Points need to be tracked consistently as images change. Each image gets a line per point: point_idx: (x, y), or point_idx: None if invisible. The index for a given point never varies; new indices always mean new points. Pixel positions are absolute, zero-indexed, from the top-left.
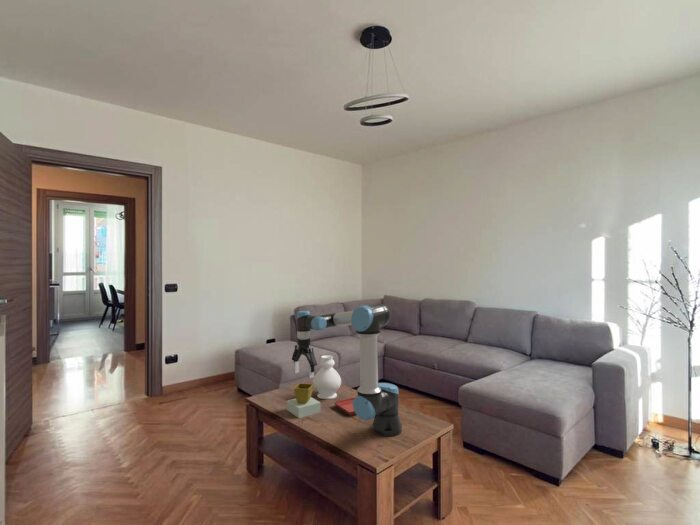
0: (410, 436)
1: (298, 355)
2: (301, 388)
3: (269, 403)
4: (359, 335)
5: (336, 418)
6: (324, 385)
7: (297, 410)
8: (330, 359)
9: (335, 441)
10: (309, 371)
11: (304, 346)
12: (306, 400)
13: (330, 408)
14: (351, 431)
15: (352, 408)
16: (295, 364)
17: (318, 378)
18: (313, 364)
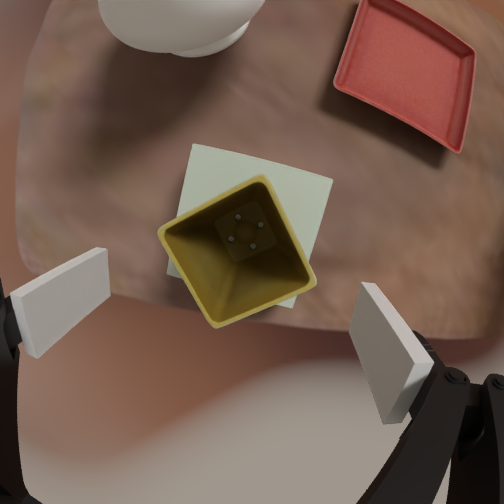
0: None
1: (17, 457)
2: (188, 219)
3: (81, 254)
4: None
5: (418, 193)
6: (223, 28)
7: None
8: None
9: (476, 326)
10: (367, 374)
11: None
12: (288, 255)
13: (330, 116)
14: (493, 251)
15: (411, 76)
16: (53, 340)
17: (157, 21)
18: (474, 440)
